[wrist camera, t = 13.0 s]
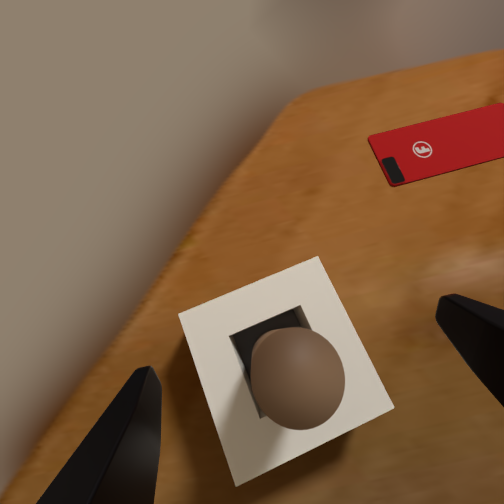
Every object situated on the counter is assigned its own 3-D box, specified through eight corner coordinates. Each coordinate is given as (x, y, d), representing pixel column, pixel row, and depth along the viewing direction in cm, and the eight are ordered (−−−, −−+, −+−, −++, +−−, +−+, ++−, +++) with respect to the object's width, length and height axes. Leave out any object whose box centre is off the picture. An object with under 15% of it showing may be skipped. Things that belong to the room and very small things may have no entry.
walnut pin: (308, 369, 20) (362, 404, 10) (263, 390, 19) (274, 448, 10) (287, 322, 21) (318, 312, 11) (244, 341, 20) (236, 349, 11)
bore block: (364, 391, 20) (394, 408, 16) (239, 451, 19) (235, 487, 15) (305, 270, 23) (317, 256, 18) (193, 317, 22) (178, 314, 17)
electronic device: (499, 105, 28) (364, 139, 27) (503, 101, 27) (367, 135, 26) (530, 151, 26) (388, 189, 25) (535, 147, 26) (392, 186, 25)
